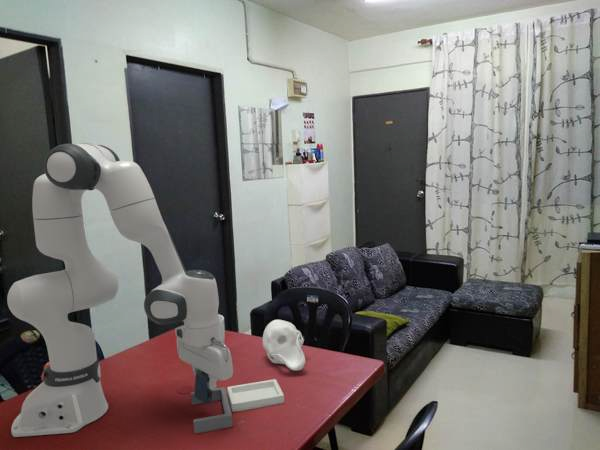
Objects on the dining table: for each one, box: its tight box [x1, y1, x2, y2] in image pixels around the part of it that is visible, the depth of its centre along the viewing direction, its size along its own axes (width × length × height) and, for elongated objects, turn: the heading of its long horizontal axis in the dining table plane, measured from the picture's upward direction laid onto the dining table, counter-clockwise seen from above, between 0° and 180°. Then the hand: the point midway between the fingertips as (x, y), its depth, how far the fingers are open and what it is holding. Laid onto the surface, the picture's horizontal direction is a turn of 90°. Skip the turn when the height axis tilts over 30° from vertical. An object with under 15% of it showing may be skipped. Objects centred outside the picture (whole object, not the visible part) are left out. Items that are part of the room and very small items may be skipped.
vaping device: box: [194, 369, 212, 404], centre depth 118 cm, size 3×5×12 cm, turn 56°
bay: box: [190, 386, 233, 435], centre depth 119 cm, size 9×15×3 cm, turn 16°
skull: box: [262, 319, 306, 371], centre depth 147 cm, size 13×14×20 cm
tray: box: [226, 378, 285, 413], centre depth 126 cm, size 14×10×2 cm
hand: (205, 384), depth 118 cm, fingers closed on vaping device, 4 cm apart
